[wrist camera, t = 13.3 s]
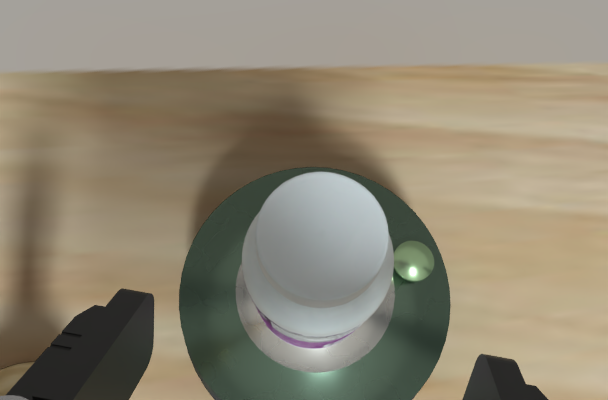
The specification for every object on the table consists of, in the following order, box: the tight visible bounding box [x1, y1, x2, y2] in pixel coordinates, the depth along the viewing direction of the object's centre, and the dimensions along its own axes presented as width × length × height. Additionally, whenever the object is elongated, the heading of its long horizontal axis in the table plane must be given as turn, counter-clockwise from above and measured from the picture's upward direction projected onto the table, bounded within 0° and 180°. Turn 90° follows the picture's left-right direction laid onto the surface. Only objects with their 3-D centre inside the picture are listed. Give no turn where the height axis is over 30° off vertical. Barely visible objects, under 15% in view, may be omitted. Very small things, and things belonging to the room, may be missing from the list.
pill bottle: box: [242, 172, 394, 349], centre depth 19 cm, size 5×5×10 cm
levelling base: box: [179, 167, 450, 400], centre depth 25 cm, size 14×14×4 cm
